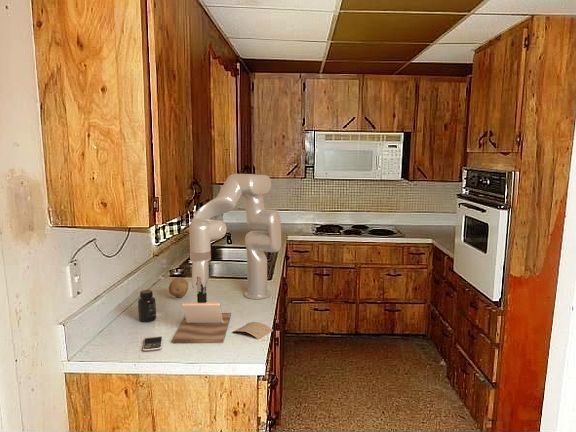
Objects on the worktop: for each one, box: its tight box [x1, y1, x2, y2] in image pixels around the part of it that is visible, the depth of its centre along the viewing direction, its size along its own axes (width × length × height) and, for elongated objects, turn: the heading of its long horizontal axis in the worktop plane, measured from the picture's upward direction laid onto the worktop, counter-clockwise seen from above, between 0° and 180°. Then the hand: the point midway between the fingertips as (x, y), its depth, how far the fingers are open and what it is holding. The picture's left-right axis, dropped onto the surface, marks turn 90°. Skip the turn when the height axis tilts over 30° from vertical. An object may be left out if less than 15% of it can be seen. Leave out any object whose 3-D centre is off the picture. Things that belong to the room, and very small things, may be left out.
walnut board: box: [172, 312, 232, 344], centre depth 168 cm, size 26×18×2 cm
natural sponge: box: [168, 277, 189, 299], centre depth 203 cm, size 9×9×10 cm
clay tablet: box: [232, 321, 274, 340], centre depth 165 cm, size 14×10×3 cm
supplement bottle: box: [137, 289, 157, 323], centre depth 177 cm, size 7×7×12 cm
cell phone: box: [142, 336, 163, 353], centre depth 154 cm, size 6×11×1 cm, turn 14°
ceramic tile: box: [181, 302, 223, 323], centre depth 166 cm, size 13×14×1 cm
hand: (202, 302), depth 163 cm, fingers closed
